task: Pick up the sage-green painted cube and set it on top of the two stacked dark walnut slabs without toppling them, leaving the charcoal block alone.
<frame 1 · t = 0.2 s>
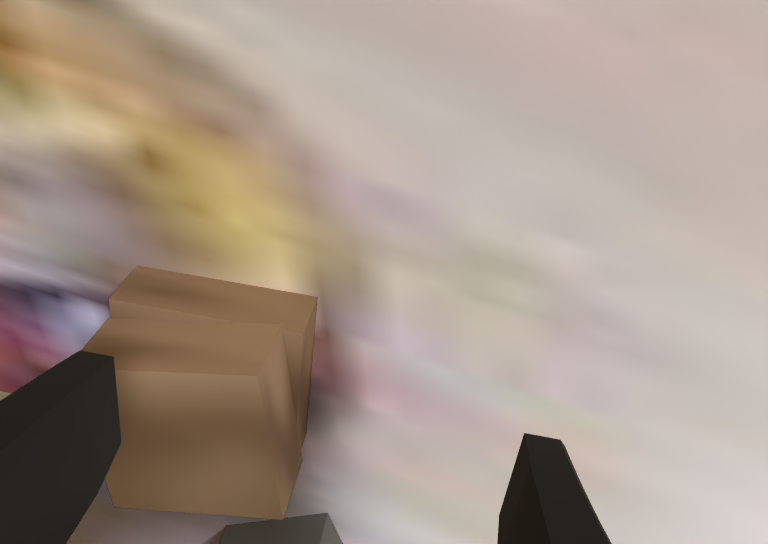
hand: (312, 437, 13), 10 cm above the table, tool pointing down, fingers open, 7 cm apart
base slab: (230, 346, 25), on the table, touching top slab
top slab: (209, 392, 23), point 2 cm above the table, touching base slab
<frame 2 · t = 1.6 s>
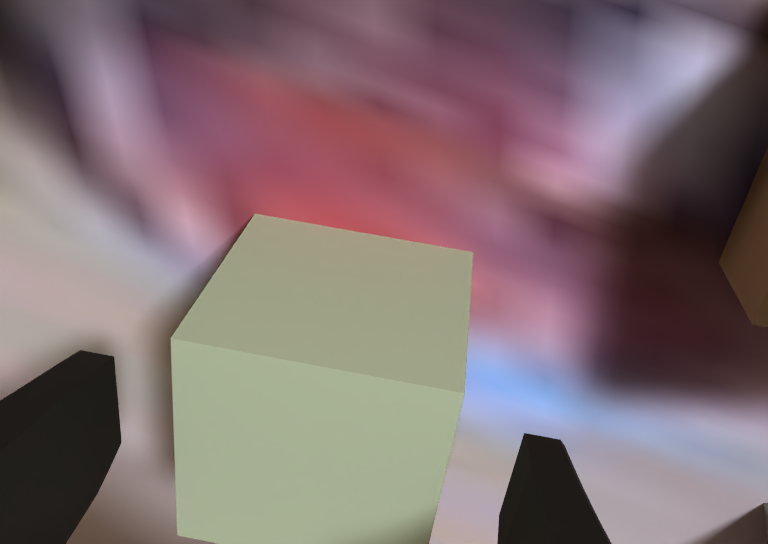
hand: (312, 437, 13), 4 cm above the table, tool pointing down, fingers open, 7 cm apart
green cube: (352, 321, 16), on the table
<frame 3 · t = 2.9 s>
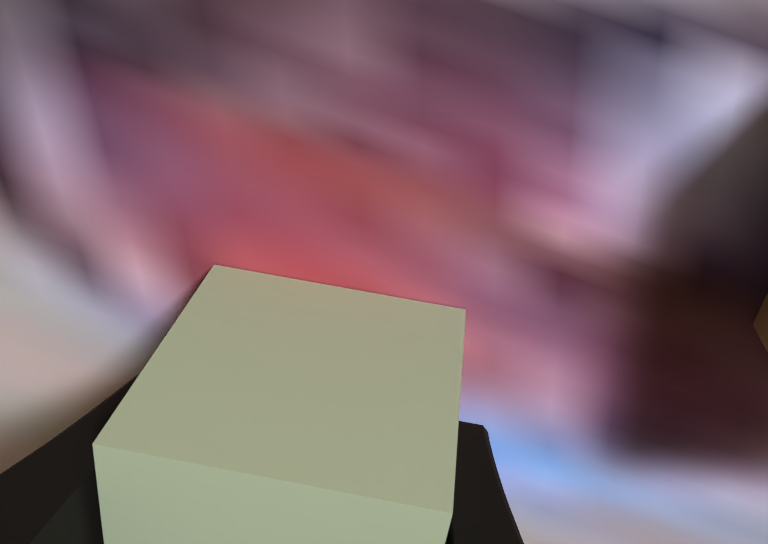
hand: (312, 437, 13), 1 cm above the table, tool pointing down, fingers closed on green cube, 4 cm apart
green cube: (328, 385, 14), on the table, touching gripper
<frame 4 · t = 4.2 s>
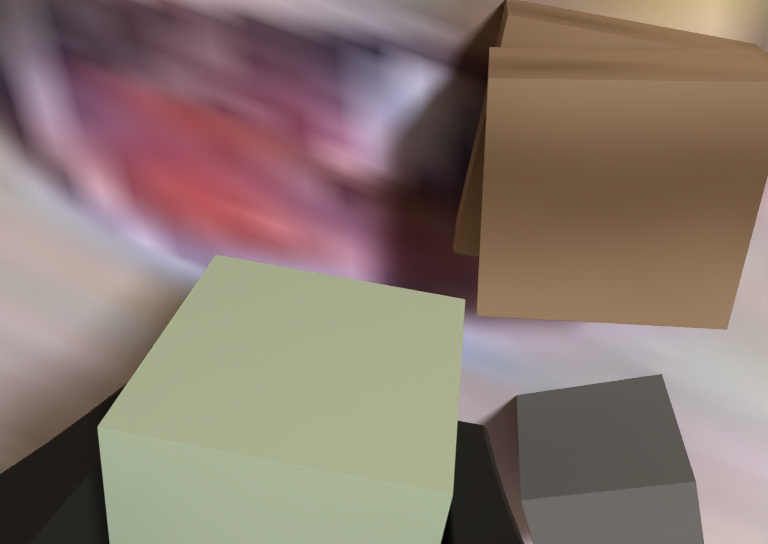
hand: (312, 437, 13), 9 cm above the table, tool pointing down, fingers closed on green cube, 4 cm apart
base slab: (590, 132, 19), on the table, touching top slab
green cube: (328, 375, 14), point 8 cm above the table, touching gripper
top slab: (601, 166, 17), point 2 cm above the table, touching base slab
charcoal block: (598, 435, 24), on the table
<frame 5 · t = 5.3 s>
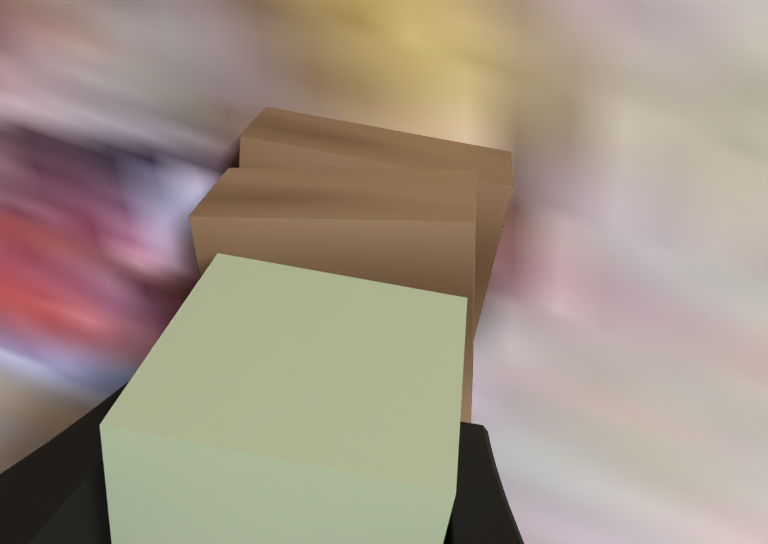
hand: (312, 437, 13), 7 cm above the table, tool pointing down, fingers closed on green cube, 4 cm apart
base slab: (373, 230, 19), on the table, touching top slab
green cube: (330, 374, 14), point 6 cm above the table, touching gripper
top slab: (357, 277, 17), point 2 cm above the table, touching base slab
when the fingers open (7 cm above the table, at t = 5.9 s): green cube drops 1 cm, resting on top slab.
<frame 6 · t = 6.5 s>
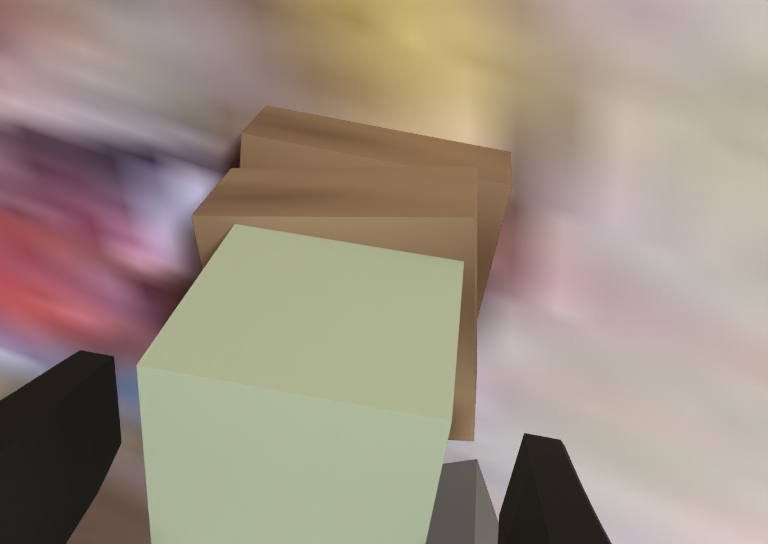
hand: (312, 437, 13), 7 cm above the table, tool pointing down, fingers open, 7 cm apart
base slab: (373, 228, 19), on the table, touching top slab
green cube: (339, 336, 15), point 4 cm above the table, touching top slab
top slab: (360, 275, 17), point 2 cm above the table, touching base slab, green cube
charcoal block: (427, 515, 24), on the table
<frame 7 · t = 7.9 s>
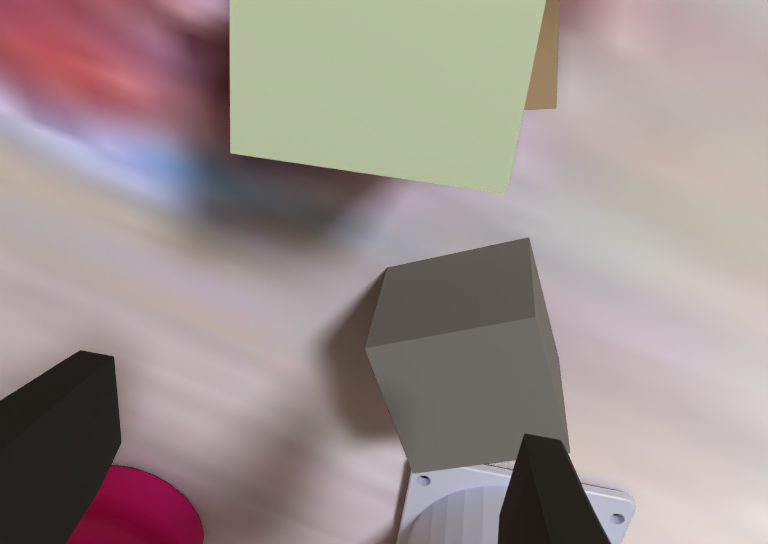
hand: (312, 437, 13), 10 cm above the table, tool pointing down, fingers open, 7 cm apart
pepper mill: (135, 514, 30), on the table
charcoal block: (474, 312, 23), on the table
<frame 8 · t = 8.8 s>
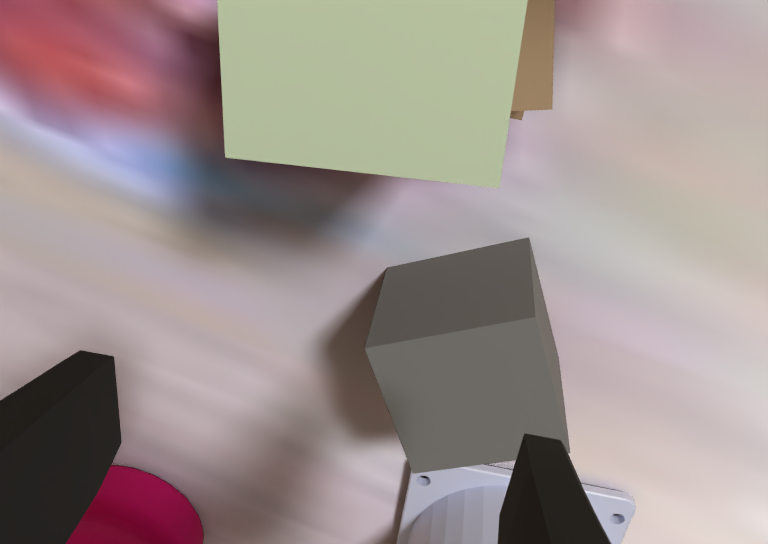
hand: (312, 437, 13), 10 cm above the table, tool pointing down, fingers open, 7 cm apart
pepper mill: (135, 514, 30), on the table
charcoal block: (474, 312, 23), on the table
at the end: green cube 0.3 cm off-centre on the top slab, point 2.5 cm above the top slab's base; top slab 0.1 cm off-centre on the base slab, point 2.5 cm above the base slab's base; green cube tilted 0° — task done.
